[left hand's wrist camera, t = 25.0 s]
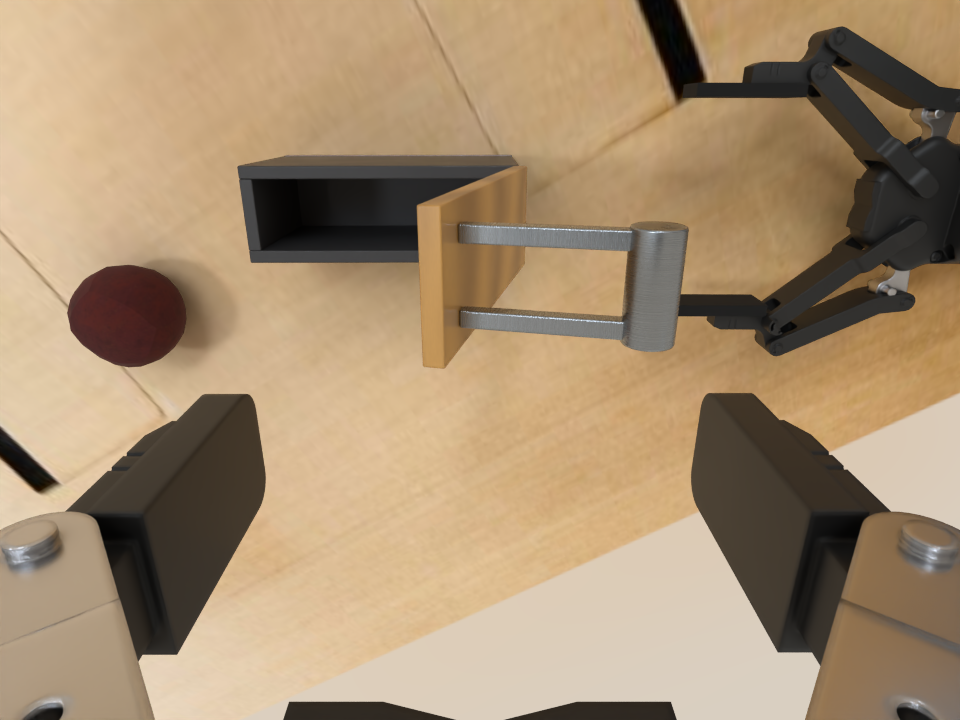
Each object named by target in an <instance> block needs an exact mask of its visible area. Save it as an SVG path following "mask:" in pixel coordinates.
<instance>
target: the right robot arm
mask: <svg viewBox="0 0 960 720" xmlns="http://www.w3.org/2000/svg"><path fill="white" fill-rule="evenodd" d="M808 47H809V48H808V50H807V52H806V54H805V56H804V57H803V58H802V59H801V60H800V61H799V62H760V63H754V64H751V65H749V66H747V67H745V68H744V75H743V82H742V83H693V84H686V85H684V90H683V98H796V97H807V98H808V100H809V101H810V102H811V103H812V104H813V105H814V106H815V107H816V108H817V110H818V111H819V112H820V113H821V114H822V115H823V116H824V117H825V118H826V120H827V121H828V122H829V123H830V124H831V125H832V126H833V127H834V128H835V130H836V131H837V132H838V133H839V134H840V135H841V136H842V137H843V139H844V140H845V141H846V142H847V143H848V144H849V145H850V146H851V147H852V149H853V150H854V152H853V153H854V155H855V156H856V157H857V158H858V160H859V161H860V162H861V163H862V164H863V165H864V166H865V167H866V168H867V171H866V172H865V173H864V174H863V176H862V178H861V179H857V181H856V185H855V189H854V199H855V203H854V205H853V207H852V209H851V211H850V213H849V216H848V221H847V225H846V227H850V232H851V234H850V235H849V236H847V237H846V238H844V239H843V240H842V241H840V242H839V243H837V244H836V245H835V246H834V247H833V248H832V251H831V253H829V254H828V255H826V256H825V257H824V258H822V259H821V260H819V261H818V262H817V263H815V264H814V265H812V266H811V267H809V268H808V269H807V270H805V271H804V272H802V273H801V274H800V275H798V276H797V277H795V278H794V279H792V280H791V281H790V282H788V283H787V284H785V285H784V286H783V287H781V288H780V289H778V290H777V291H776V292H774V293H773V294H771V295H770V296H768V297H767V298H766V299H764V300H763V301H760V300H758V299H757V298H755V297H754V296H752V295H711V294H681V296H680V304H679V312H678V316H707V321H708V322H709V323H710V324H712V325H713V326H714V327H716V328H719V329H755V331H756V334H755V341H756V342H757V343H758V344H759V345H760V346H762V347H763V348H764V349H765V350H766V351H768V352H769V353H770V354H771V355H773V356H779V355H782V354H784V353H787V352H789V351H792V350H794V349H796V348H799V347H801V346H803V345H806V344H808V343H811V342H813V341H815V340H818V339H820V338H822V337H825V336H827V335H830V334H832V333H834V332H837V331H839V330H841V329H844V328H846V327H849V326H851V325H853V324H856V323H858V322H860V321H863V320H865V319H868V318H870V317H872V316H875V315H877V314H879V313H889V312H899V311H906V310H909V309H910V308H912V307H913V305H914V303H915V297H914V296H913V295H912V294H909V293H907V287H908V281H909V274H910V270H912V269H914V268H916V267H918V266H921V265H924V264H960V144H954V143H952V142H951V141H949V140H948V139H946V138H947V135H948V132H949V130H950V127H951V124H952V122H953V119H954V117H955V114H956V112H960V89H952V88H945V87H938V86H937V85H935V84H934V83H932V82H930V81H929V80H927V79H926V78H924V77H923V76H921V75H919V74H918V73H916V72H915V71H913V70H912V69H910V68H909V67H907V66H905V65H904V64H902V63H901V62H899V61H898V60H896V59H894V58H893V57H891V56H890V55H888V54H887V53H885V52H883V51H882V50H880V49H879V48H877V47H876V46H874V45H872V44H871V43H869V42H868V41H866V40H865V39H863V38H861V37H860V36H858V35H857V34H855V33H854V32H852V31H851V30H849V29H847V28H845V27H837V28H833V29H828V30H824V31H820V32H817V33H815V34H813V35H812V36H811V38H810V40H809V42H808ZM832 65H833V66H834V67H836V68H838V69H839V70H841V71H842V72H844V73H846V74H847V75H849V76H850V77H852V78H854V79H855V80H857V81H858V82H860V83H862V84H863V85H865V86H866V87H868V88H870V89H871V90H873V91H874V92H876V93H878V94H879V95H881V96H883V97H884V98H886V99H887V100H889V101H891V102H892V103H894V104H896V105H898V106H900V107H903V108H906V109H911V112H910V117H911V118H912V119H913V121H914V122H915V123H917V124H919V125H920V126H921V128H922V135H921V136H920V137H917V138H915V139H913V140H912V141H910V142H909V143H907V144H905V145H904V144H903V143H902V142H901V141H900V140H898V139H896V138H894V137H893V136H892V135H891V134H890V133H889V132H888V131H887V130H886V128H885V127H884V126H883V125H882V124H881V123H880V121H879V120H878V119H877V118H876V117H875V116H874V115H873V113H872V112H871V111H870V110H869V109H868V108H867V106H866V105H865V104H864V103H863V102H862V101H861V100H860V98H859V97H858V96H857V95H856V94H855V93H854V92H853V90H852V89H851V88H850V87H849V86H848V85H847V83H846V82H845V81H844V80H843V79H842V78H841V77H840V75H839V74H838V73H837V72H836V71H835V70H834V68H833V67H832ZM863 248H865V250H862V249H863ZM881 263H882V264H883V265H884V266H886V267H887V270H886V272H885V273H884V274H883V275H882V276H881V277H878V278H876V279H871V280H869V281H868V283H867V285H868V286H867V287H861V288H857V289H854V290H851V291H848V292H846V293H844V294H841V295H839V296H837V297H834V298H832V299H830V300H827V301H825V302H823V303H820V304H818V305H816V306H814V307H812V306H813V305H814V304H816V303H817V302H819V301H820V300H822V299H823V298H825V297H826V296H828V295H829V294H830V293H832V292H833V291H835V290H836V289H838V288H839V287H841V286H842V285H844V284H845V283H846V282H848V281H849V280H851V279H852V278H854V277H855V276H857V275H858V274H860V273H864V272H868V271H871V270H872V269H874V268H875V267H877V266H878V265H880V264H881ZM810 307H811V308H810Z"/></svg>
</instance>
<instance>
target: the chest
mask: <svg viewBox="0 0 960 720" xmlns="http://www.w3.org/2000/svg"><path fill="white" fill-rule="evenodd" d="M513 166H519V165H518V164H517V163H516V162H515V160H514V159H513V158H512V156H511V155H287V156H284V157H279V158H274V159H269V160H264V161H260V162H255V163H250V164H245V165H240V166H238V174H239V179H240V180H239V182H240V189H241V196H242V203H243V210H244V217H245V224H246V231H247V238H248V245H249V250H250V259H251V262H252V263H359V262H419V250H418V224H417V205H419V204H421V203H424V202H426V201H429V200H431V199H434V198H436V197H439V196H441V195H444V194H446V193H448V192H451V191H453V190H456V189H458V188H461V187H463V186H466V185H468V184H471V183H473V182H476V181H478V180H481V179H483V178H486V177H488V176H490V175H493V174H495V173H498V172H500V171H503V170H505V169H508V168H510V167H513Z"/></svg>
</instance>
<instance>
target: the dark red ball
mask: <svg viewBox="0 0 960 720" xmlns="http://www.w3.org/2000/svg"><path fill="white" fill-rule="evenodd" d="M67 314H68V318H69V323H70V328H71V331H72V333H73V334H74V335H75V336H76V338H77V339H78V340H79V341H80V343H81V344H82V345H84V346H85V347H86V348H88V349H89V350H90V351H92V352H93V353H94V354H96V355H97V356H99V357H100V358H102V359H104V360H106V361H109V362H111V363H113V364H115V365H120V366H125V367H141V366H144V365H146V364H149V363H152V362H154V361H157V360H159V359H161V358H162V357H164V356H165V355H166V354H168V353H169V352H170V351H171V350H172V349H173V348H174V347H175V346H176V344H177V343H178V341H179V340H180V338H181V337H182V335H183V333H184V328H185V324H186V309H185V305H184V301H183V299H182V297H181V295H180V293H179V291H178V289H177V288H176V287H175V286H174V285H173V284H172V282H171V281H170V280H169V279H168V278H166V277H165V276H163V275H161V274H160V273H158V272H156V271H155V270H151V269H147V268H143V267H138V266H134V265H123V266H112V267H106V268H104V269H102V270H100V271H98V272H96V273H94V274H92V275H91V276H89V277H88V278H86V279H85V280H84V281H83V282H82V283H81V284H80V286H79V287H78V288H77V290H76V291H75V292H74V294H73V296H72V298H71V299H70V304H69V308H68V312H67Z"/></svg>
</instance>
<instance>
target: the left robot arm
mask: <svg viewBox="0 0 960 720" xmlns="http://www.w3.org/2000/svg"><path fill="white" fill-rule="evenodd" d="M265 483H266V476H265V466H264V460H263V453H262V447H261V440H260V433H259V427H258V420H257V414H256V408H255V404H254V401H253V399H252V397H251V396H250V395H248V394H204V395H202V396H201V397H200V398H199V399H198V400H197V401H196V402H195V403H194V404H193V405H192V406H191V407H190V408H189V409H188V410H187V411H186V412H185V413H184V414H183V415H182V416H181V417H180V418H179V419H178V420H177V421H171V422H170V423H168V424H166V425H164V426H162V427H160V428H158V429H157V430H155V431H153V432H151V433H149V434H147V435H145V436H144V437H143V438H142V439H141V440H140V441H139V442H138V443H137V444H136V445H135V446H134V447H132V448H131V449H130V450H129V451H128V452H127V456H123V457H122V458H121V459H120V460H119V461H118V462H117V463H116V464H115V465H114V466H113V467H112V471H107V472H106V473H105V474H104V475H103V476H102V477H101V478H100V479H99V480H98V481H97V482H96V483H95V484H94V485H93V486H92V487H91V488H90V489H88V490H87V491H86V492H85V493H84V494H83V495H82V496H81V497H80V498H79V499H78V500H77V501H76V502H75V503H74V504H73V505H72V506H71V507H70V508H69V509H67V510H66V511H65V512H56V513H49V514H44V515H39V516H35V517H32V518H28V519H25V520H22V521H20V522H17V523H15V524H12V525H10V526H7V527H5V528H3V529H1V530H0V720H155V718H154V715H153V711H152V708H151V704H150V701H149V697H148V694H147V691H146V687H145V684H144V680H143V677H142V673H141V670H140V666H139V663H138V661H139V660H140V658H141V656H142V655H177V654H178V652H179V650H180V649H181V647H182V645H183V643H184V641H185V640H186V638H187V636H188V634H189V633H190V631H191V629H192V627H193V625H194V624H195V622H196V620H197V618H198V617H199V615H200V613H201V611H202V609H203V608H204V606H205V604H206V602H207V601H208V599H209V597H210V595H211V593H212V592H213V590H214V588H215V586H216V585H217V583H218V581H219V579H220V577H221V576H222V574H223V572H224V570H225V569H226V567H227V565H228V563H229V561H230V560H231V558H232V556H233V554H234V553H235V551H236V549H237V547H238V545H239V544H240V542H241V540H242V538H243V537H244V535H245V533H246V531H247V529H248V528H249V526H250V524H251V522H252V521H253V519H254V517H255V515H256V513H257V512H258V510H259V508H260V506H261V504H262V501H263V497H264V492H265ZM691 485H692V492H693V497H694V500H695V503H696V506H697V508H698V509H699V511H700V513H701V515H702V517H703V518H704V520H705V522H706V524H707V525H708V527H709V529H710V531H711V533H712V534H713V536H714V538H715V540H716V542H717V543H718V545H719V547H720V549H721V551H722V553H723V554H724V556H725V558H726V560H727V561H728V563H729V565H730V567H731V569H732V570H733V572H734V574H735V576H736V578H737V580H738V581H739V583H740V585H741V587H742V589H743V590H744V592H745V594H746V596H747V598H748V599H749V601H750V603H751V605H752V606H753V608H754V610H755V612H756V614H757V616H758V617H759V619H760V621H761V623H762V625H763V626H764V628H765V630H766V632H767V634H768V635H769V637H770V639H771V641H772V643H773V644H774V646H775V648H776V650H777V652H812V653H813V655H814V656H815V658H816V659H817V661H818V663H819V664H820V670H819V673H818V677H817V680H816V684H815V687H814V691H813V694H812V697H811V701H810V704H809V708H808V711H807V715H806V718H805V720H960V530H959V529H957V528H955V527H953V526H950V525H948V524H945V523H943V522H940V521H937V520H935V519H932V518H928V517H925V516H921V515H916V514H911V513H904V512H891V511H890V510H889V509H888V508H887V507H886V506H885V505H884V504H883V503H882V502H880V501H879V500H878V499H877V498H876V497H875V496H874V495H873V494H872V493H871V492H870V491H869V490H868V489H867V488H866V487H865V486H864V485H863V484H862V483H861V482H860V481H859V480H858V479H857V478H856V477H855V476H853V475H852V474H851V473H850V472H849V471H848V470H844V468H843V465H842V464H841V463H840V462H839V461H838V460H837V459H836V458H835V457H834V456H833V455H829V451H828V450H826V449H825V448H824V447H823V446H822V445H821V444H820V443H819V442H818V441H817V440H816V439H815V438H814V437H813V436H812V435H811V434H809V433H807V432H805V431H803V430H801V429H800V428H798V427H796V426H794V425H792V424H790V423H788V422H786V421H785V420H779V419H778V418H777V417H776V416H775V415H774V414H773V413H772V412H771V411H770V410H769V409H768V408H767V407H766V406H765V405H764V404H763V403H762V402H761V401H760V400H759V399H758V398H757V397H756V396H755V395H754V394H752V393H708V394H707V395H706V396H705V397H704V399H703V401H702V405H701V410H700V417H699V423H698V430H697V437H696V444H695V450H694V457H693V464H692V471H691ZM283 720H454V719H450V718H446V717H442V716H438V715H434V714H430V713H426V712H422V711H418V710H414V709H410V708H405V707H401V706H398V705H394V704H390V703H386V702H289V704H288V707H287V710H286V713H285V716H284V719H283ZM506 720H677V719H676V716H675V713H674V710H673V707H672V704H671V702H574V703H570V704H567V705H562V706H558V707H554V708H550V709H546V710H542V711H538V712H534V713H530V714H526V715H522V716H518V717H514V718H510V719H506Z"/></svg>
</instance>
